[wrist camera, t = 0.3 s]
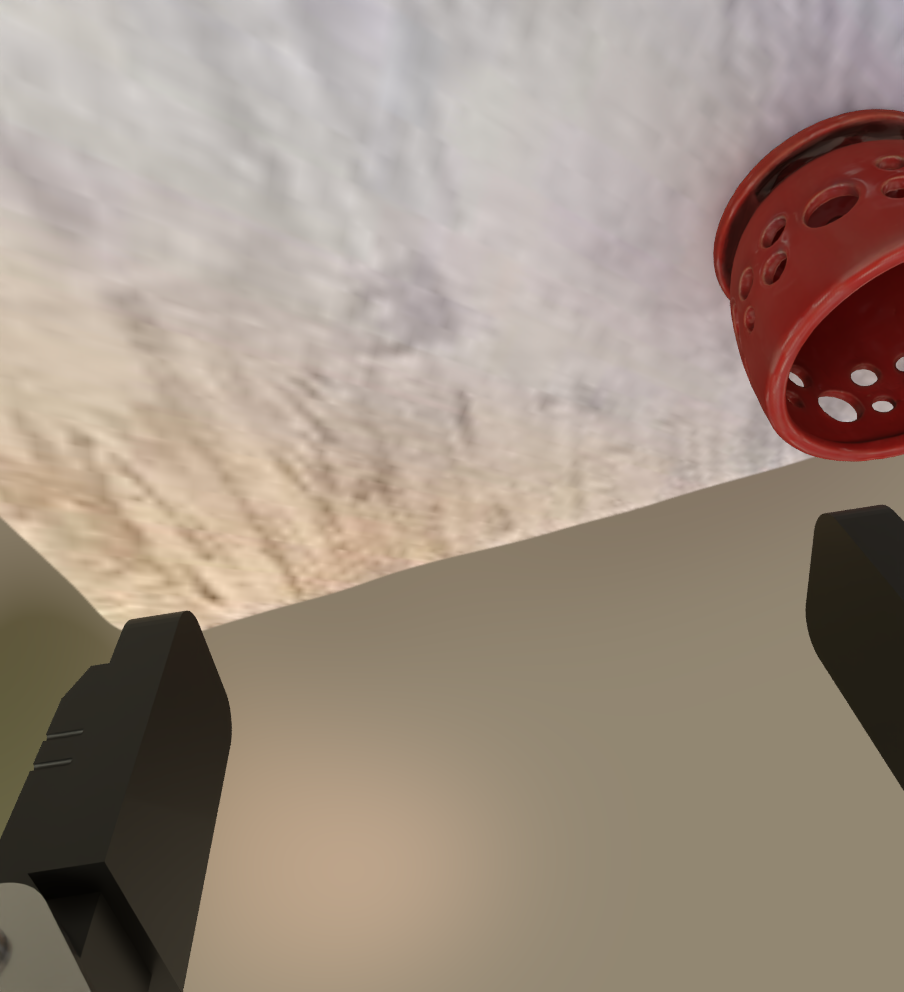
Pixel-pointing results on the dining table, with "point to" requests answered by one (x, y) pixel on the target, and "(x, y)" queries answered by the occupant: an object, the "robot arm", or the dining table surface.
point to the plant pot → (822, 282)
